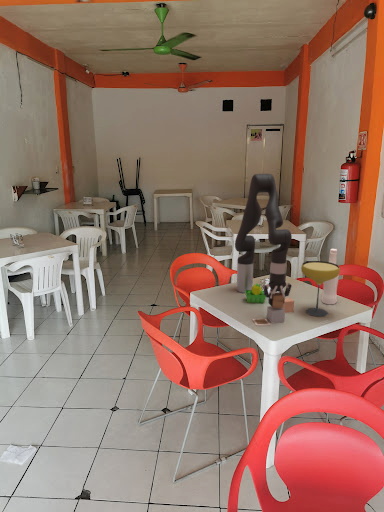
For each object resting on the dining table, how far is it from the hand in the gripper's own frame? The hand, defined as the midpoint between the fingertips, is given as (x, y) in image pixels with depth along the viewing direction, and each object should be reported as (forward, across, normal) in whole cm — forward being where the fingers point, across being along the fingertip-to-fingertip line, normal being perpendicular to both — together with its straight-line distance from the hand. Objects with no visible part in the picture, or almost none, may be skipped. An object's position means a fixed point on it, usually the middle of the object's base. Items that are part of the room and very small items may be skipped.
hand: (276, 304), depth 188 cm
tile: (+8, +8, +2) cm, 11 cm away
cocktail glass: (+8, -24, -5) cm, 26 cm away
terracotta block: (+8, -10, -10) cm, 16 cm away
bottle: (+8, -37, -17) cm, 42 cm away
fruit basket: (+8, +2, -25) cm, 26 cm away
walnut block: (+1, 0, 0) cm, 1 cm away
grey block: (+8, 0, 0) cm, 8 cm away
